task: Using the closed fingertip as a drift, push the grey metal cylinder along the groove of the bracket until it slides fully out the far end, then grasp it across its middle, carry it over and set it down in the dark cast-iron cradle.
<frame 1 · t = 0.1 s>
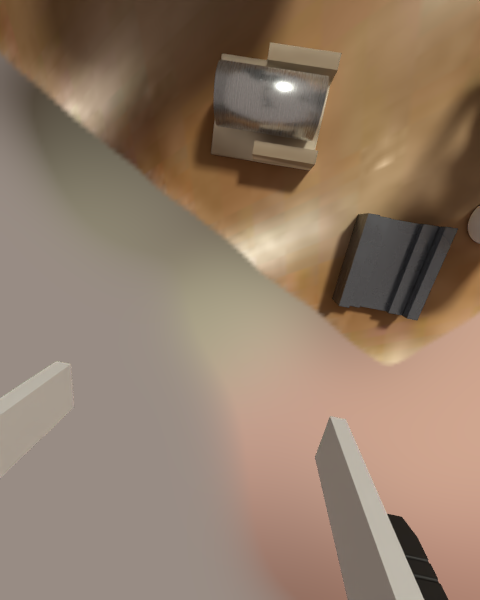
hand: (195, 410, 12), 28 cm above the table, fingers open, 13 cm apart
bracket: (268, 116, 31), on the table
v block: (381, 265, 35), on the table
grey metal cylinder: (268, 114, 30), resting on bracket
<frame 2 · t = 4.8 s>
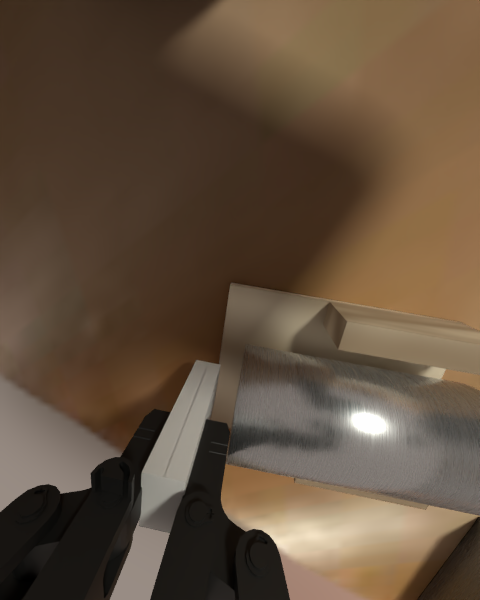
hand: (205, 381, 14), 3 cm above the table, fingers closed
bracket: (320, 376, 16), on the table
grey metal cylinder: (330, 383, 15), resting on bracket, touching gripper
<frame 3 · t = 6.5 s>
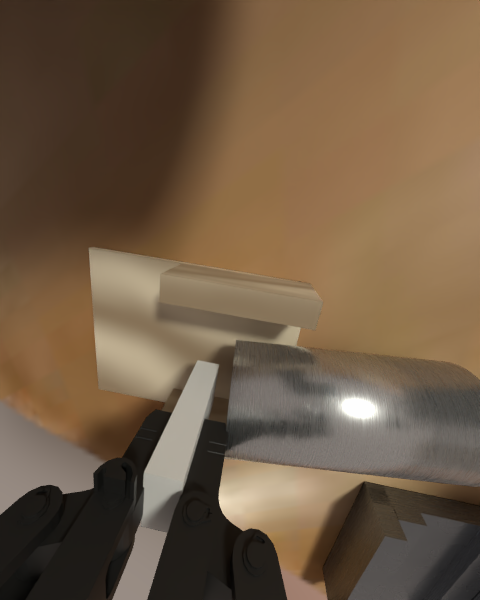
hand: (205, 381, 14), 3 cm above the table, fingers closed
bracket: (192, 340, 16), on the table
v block: (406, 544, 21), on the table
grey metal cylinder: (322, 370, 16), on the table, touching gripper
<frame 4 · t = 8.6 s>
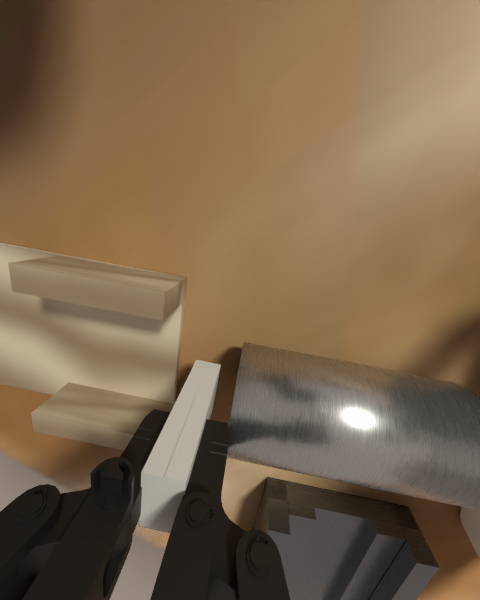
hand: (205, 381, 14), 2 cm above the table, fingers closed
bracket: (84, 334, 16), on the table
v block: (315, 540, 21), on the table
grey metal cylinder: (325, 381, 16), on the table, touching gripper
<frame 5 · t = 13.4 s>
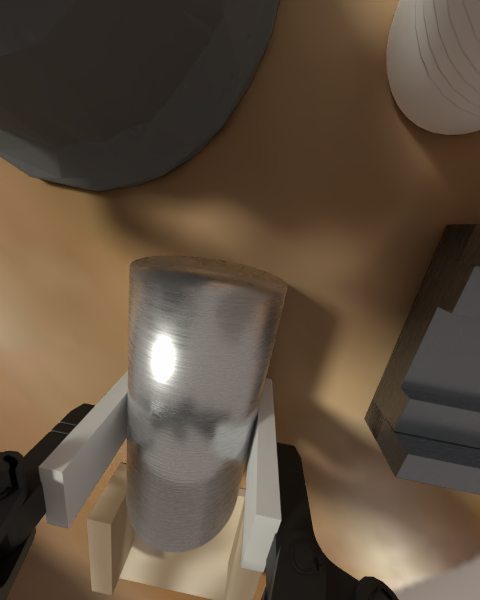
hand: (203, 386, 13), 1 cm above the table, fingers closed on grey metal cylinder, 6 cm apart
cup: (462, 47, 9), on the table
bracket: (183, 536, 19), on the table
grey metal cylinder: (212, 359, 14), on the table, touching gripper
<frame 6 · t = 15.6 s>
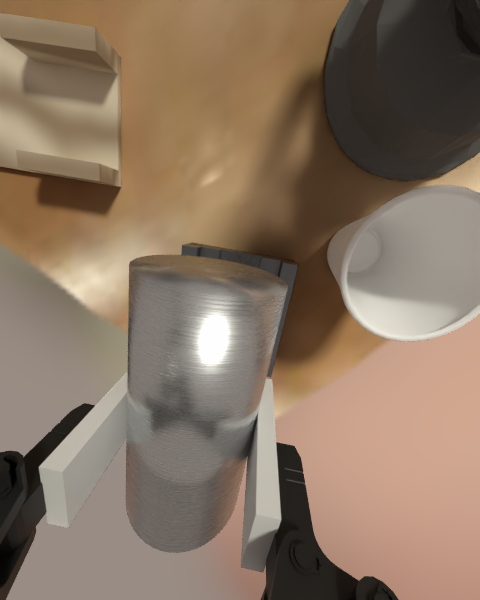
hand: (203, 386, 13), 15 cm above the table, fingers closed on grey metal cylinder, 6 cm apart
cup: (354, 251, 25), on the table
bracket: (53, 116, 23), on the table
lantern: (441, 54, 20), on the table
v block: (233, 305, 28), on the table
grey metal cylinder: (212, 359, 14), point 14 cm above the table, touching gripper
when the fingers open (5 cm above the table, at t = 17.9 s): grey metal cylinder drops 2 cm, resting on v block.
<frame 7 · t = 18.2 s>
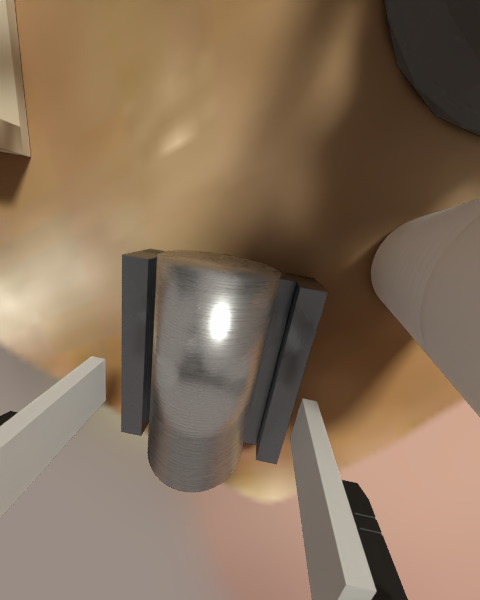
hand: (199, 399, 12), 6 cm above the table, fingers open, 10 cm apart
cup: (416, 265, 15), on the table
v block: (218, 345, 18), on the table
grey metal cylinder: (218, 340, 16), point 1 cm above the table, touching v block
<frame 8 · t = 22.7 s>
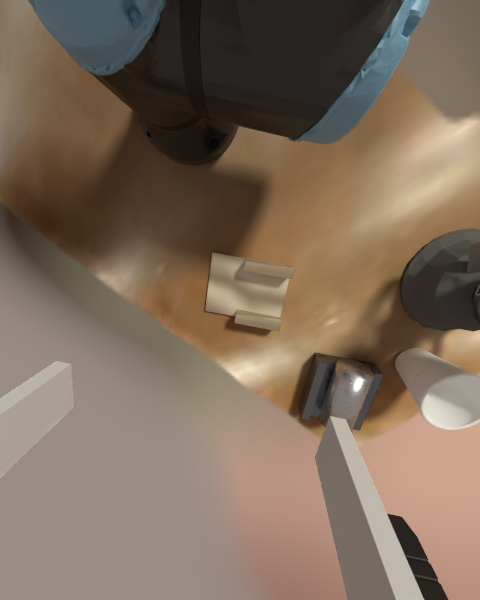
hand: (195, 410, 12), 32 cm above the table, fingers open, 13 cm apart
cup: (410, 360, 44), on the table
bracket: (246, 289, 42), on the table
lantern: (462, 275, 39), on the table
v block: (334, 385, 47), on the table
grey metal cylinder: (339, 385, 45), point 1 cm above the table, touching v block
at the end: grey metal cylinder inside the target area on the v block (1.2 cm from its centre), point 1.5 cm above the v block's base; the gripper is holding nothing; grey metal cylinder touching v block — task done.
